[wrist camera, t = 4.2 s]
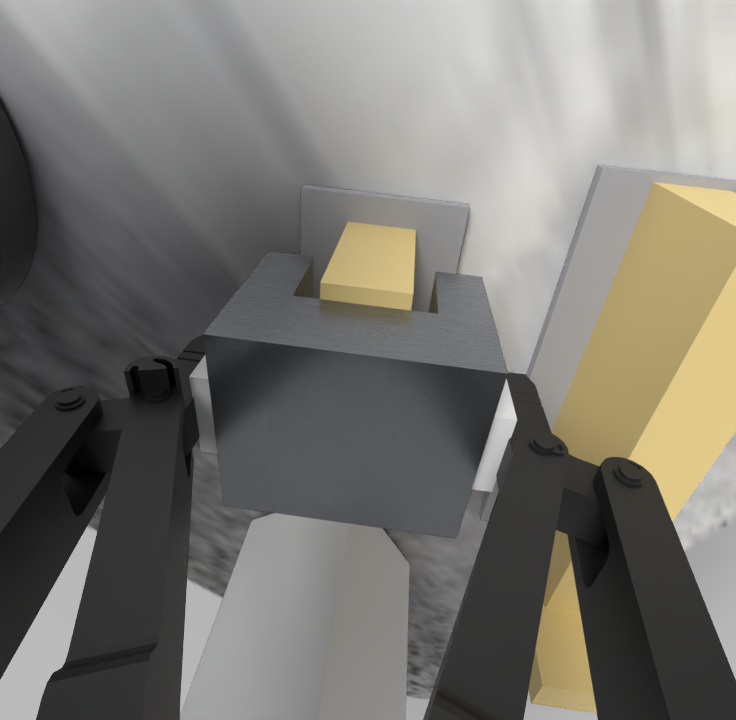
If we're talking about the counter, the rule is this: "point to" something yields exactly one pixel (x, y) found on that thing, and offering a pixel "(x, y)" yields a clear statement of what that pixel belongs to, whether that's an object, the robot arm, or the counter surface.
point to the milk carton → (308, 627)
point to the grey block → (352, 400)
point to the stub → (379, 245)
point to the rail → (635, 366)
